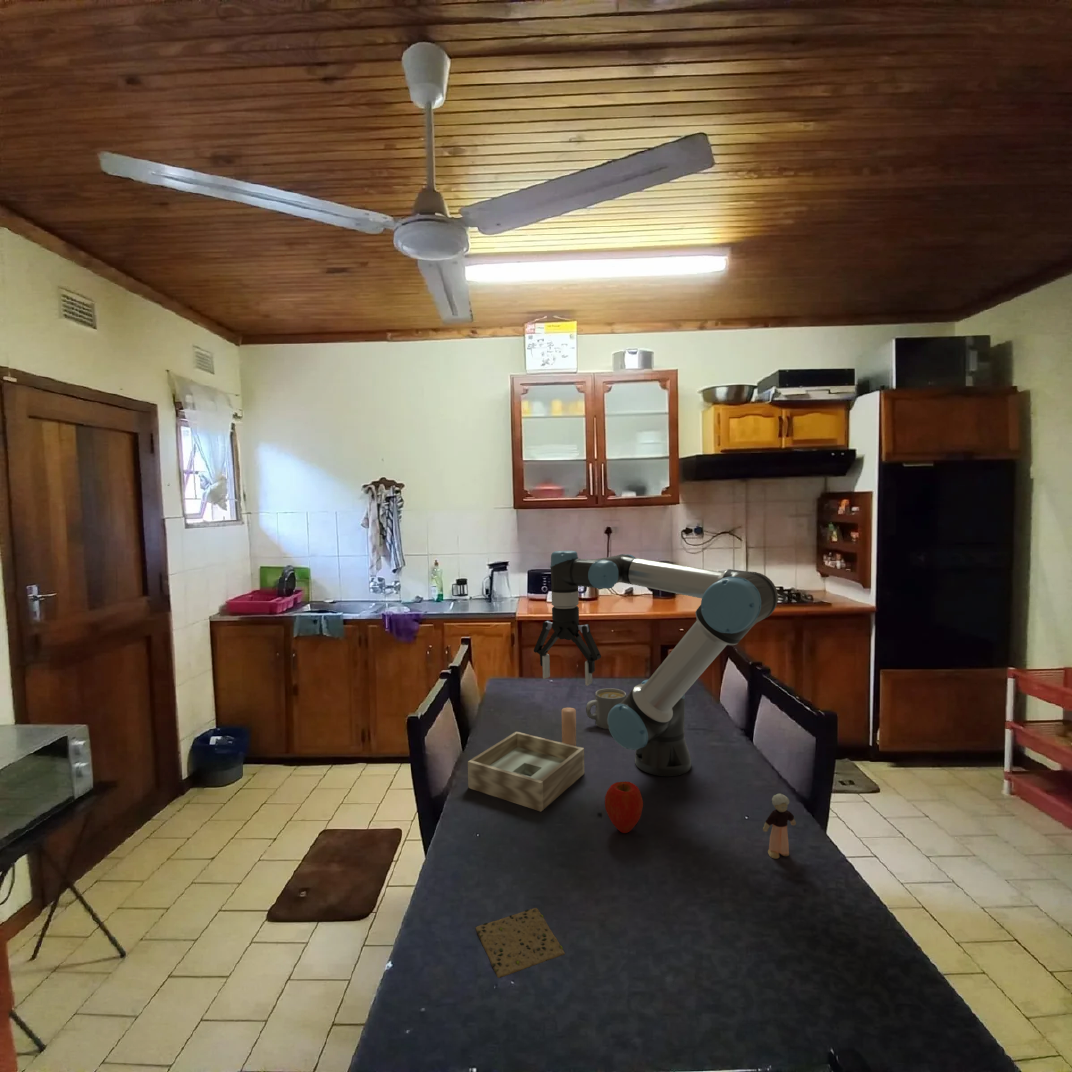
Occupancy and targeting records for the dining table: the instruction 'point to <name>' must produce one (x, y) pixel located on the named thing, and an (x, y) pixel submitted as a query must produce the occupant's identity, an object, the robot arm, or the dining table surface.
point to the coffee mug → (604, 705)
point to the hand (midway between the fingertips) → (567, 680)
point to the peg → (569, 726)
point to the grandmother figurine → (779, 826)
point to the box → (526, 770)
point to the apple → (624, 805)
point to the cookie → (518, 942)
